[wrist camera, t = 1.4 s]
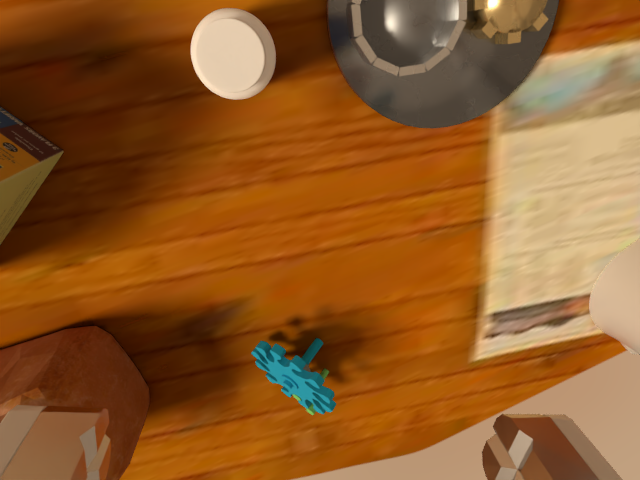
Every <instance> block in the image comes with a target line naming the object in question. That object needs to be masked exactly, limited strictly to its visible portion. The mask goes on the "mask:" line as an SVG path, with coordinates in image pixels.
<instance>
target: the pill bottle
mask: <svg viewBox="0 0 640 480" xmlns="http://www.w3.org/2000/svg"><path fill="white" fill-rule="evenodd" d="M191 59H192V63H193V67H194V69H195V72H196V74H197V75H198V77H199V79H200V80H201V81H202V83H203V84H204V85H205V86H206V87H207V88H208V89H209V90H211V91H212V92H214V93H215V94H217V95H219V96H221V97H224V98H227V99H234V100H238V99H246V98H250V97H252V96H254V95H256V94H258V93H259V92H260V91H262V90H263V89H264V88H265V87H266V85H267V84H268V83H269V81H270V79H271V78H272V75H273V73H274V69H275V64H276V51H275V45H274V42H273V39H272V37H271V34H270V33H269V31H268V30H267V28H266V27H265V25H264V24H263V23H262V22H261V21H260V20H259V19H258V18H257V17H255V16H254V15H252V14H251V13H249V12H247V11H244V10H241V9H236V8H223V9H219V10H216V11H213V12H212V13H210V14H208V15H207V16H206V17H205V18H203V19H202V21H201V22H200V23H199V24H198V26H197V27H196V29H195V31H194V34H193V37H192V41H191Z"/></svg>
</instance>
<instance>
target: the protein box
mask: <svg viewBox="0 0 640 480" xmlns="http://www.w3.org/2000/svg"><path fill="white" fill-rule="evenodd" d="M63 152H64V151H63V150H62V149H61V148H59V147H58V146H56V145H55V144H53V143H52V142H50V141H49V140H47V139H46V138H45V137H43V136H42V135H40V134H39V133H37V132H36V131H35V130H33V129H32V128H30V127H29V126H27V125H26V124H24V123H23V122H22V121H20V120H19V119H17V118H16V117H15V116H13V115H12V114H10V113H9V112H7V111H6V110H5V109H3V108H2V107H0V245H1V243H2V242H3V240H4V239H5V237H6V236H7V234H8V233H9V232H10V230H11V229H12V227H13V226H14V224H15V223H16V221H17V220H18V218H19V217H20V215H21V214H22V212H23V211H24V210H25V208H26V207H27V205H28V204H29V202H30V201H31V199H32V198H33V196H34V195H35V193H36V192H37V190H38V189H39V187H40V186H41V185H42V183H43V182H44V180H45V179H46V177H47V176H48V174H49V173H50V172H51V170H52V169H53V167H54V166H55V164H56V163H57V161H58V160H59V158H60V157H61V155H62V154H63Z"/></svg>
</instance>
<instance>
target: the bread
mask: <svg viewBox="0 0 640 480" xmlns="http://www.w3.org/2000/svg"><path fill="white" fill-rule="evenodd" d="M149 404H150V394H149V387H148V386H147V384H146V382H145V381H144V379H143V377H142V376H141V374H140V372H139V371H138V369H137V368H136V366H135V365H134V363H133V362H132V361H131V359H130V358H129V356H128V355H127V354H126V352H125V351H124V350H123V348H122V347H121V346H120V345H119V343H118V342H117V341H116V340H115V339H114V337H113V336H112V335H111V334H110V333H108V332H106V331H104V330H102V329H101V328H99V327H97V326H88V327H79V328H71V329H65V330H62V331H59V332H56V333H53V334H50V335H47V336H43V337H40V338H37V339H34V340H31V341H27V342H24V343H21V344H18V345H15V346H12V347H8V348H5V349H2V350H0V423H1V421H2V420H3V418H4V417H5V416H6V414H7V413H8V412H9V411H10V410H11V409H13V408H14V407H15V406H17V405H30V406H66V407H90V408H106V409H108V414H109V425H108V427H107V430H106V432H105V435H106V436H107V437H109V438H110V439H111V455H110V463H109V468H108V472H107V476H106V480H119V479H120V477H121V476H122V474H123V473H124V471H125V470H126V468H127V467H128V465H129V464H130V461H131V458H132V456H133V453H134V450H135V447H136V445H137V442H138V439H139V436H140V434H141V431H142V428H143V425H144V422H145V418H146V415H147V411H148V408H149Z"/></svg>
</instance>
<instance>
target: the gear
mask: <svg viewBox="0 0 640 480" xmlns="http://www.w3.org/2000/svg"><path fill="white" fill-rule="evenodd" d="M322 345H323V342H322V341H321V340H320V339H319V338H315V340H314V341H313V343H312V344H311V345H310V347H309V348H308V349H307V351H306V352H305V353H304V355H303V356H302V358H300V357H299V356H297V355H295V356H294V358H293V359H292V360H288V359H286V358H285V357H284V354H285V353H286V350H285V349H284V348H283V347H281V346H279V345H278V344H275V345H274V346H273V347H272V349H271V346H270V345H269V344H268V343H267V342H264V341H260V343H259V344H258V345H257V346H256V348H255V349H254V350H253V351H252V353H251V354H252V355H253V356H254V357H256V358H257V360H256V365H257V366H258V367H259V368H260V369H262V370H265V371H266V372H268V373H267V374H266V377H267V378H268V379H269V381H270V382H272V383H278V384H280V385H282V386H284V387H283V388H282V389H281V391H282V392H283V393H285V394H286V395H287V396H288V397H291V396H292V395H293V396H294V397H295V398H296V399H297V400H299V401H298V402H299V403H300V404H301V405H302V406H304V407H306V410H307V411H308V412H309V413H310V414H312V415H314V414H315V412H316V411H317V412H319V413H321V414H324V413H325V411H327V412H332V411H333V409H334V407H335V406H336V403H335V402H334V401H333V400H332V399H333V397H334V392H333V391H332V390H331V389H329V388H326V387H324V386H322V384H323V383H324V379H325V378H326V376H327V375H328V373H329V371H328V370H327V369H325V368H324V369H323V370H322V372H321V373H320V374H319V373H317V372H311V370H310V368H309V366H308V365H309V363H310V362H311V360H312V359H313V358H314V356H315V355H316V353H317V352H318V351H319V349H320V348H321V346H322Z"/></svg>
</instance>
